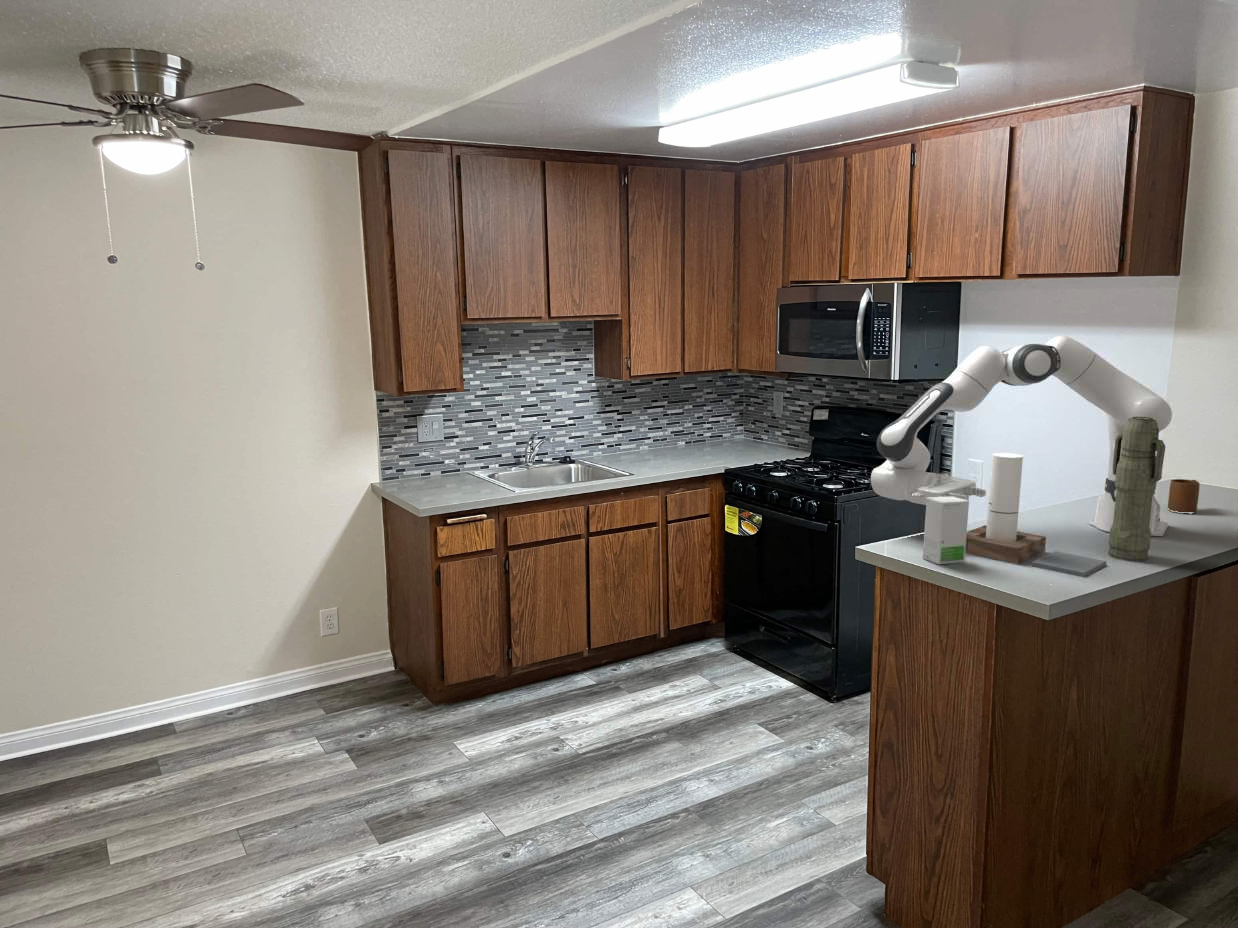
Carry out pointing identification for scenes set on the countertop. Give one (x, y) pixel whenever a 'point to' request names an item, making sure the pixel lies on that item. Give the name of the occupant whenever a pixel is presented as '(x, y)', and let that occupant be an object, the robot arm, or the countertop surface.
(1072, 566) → the rubber mat
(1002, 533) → the cylindrical container
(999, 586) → the countertop surface
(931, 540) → the skincare box
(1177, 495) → the mug
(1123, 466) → the thermos
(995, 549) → the pocket block
